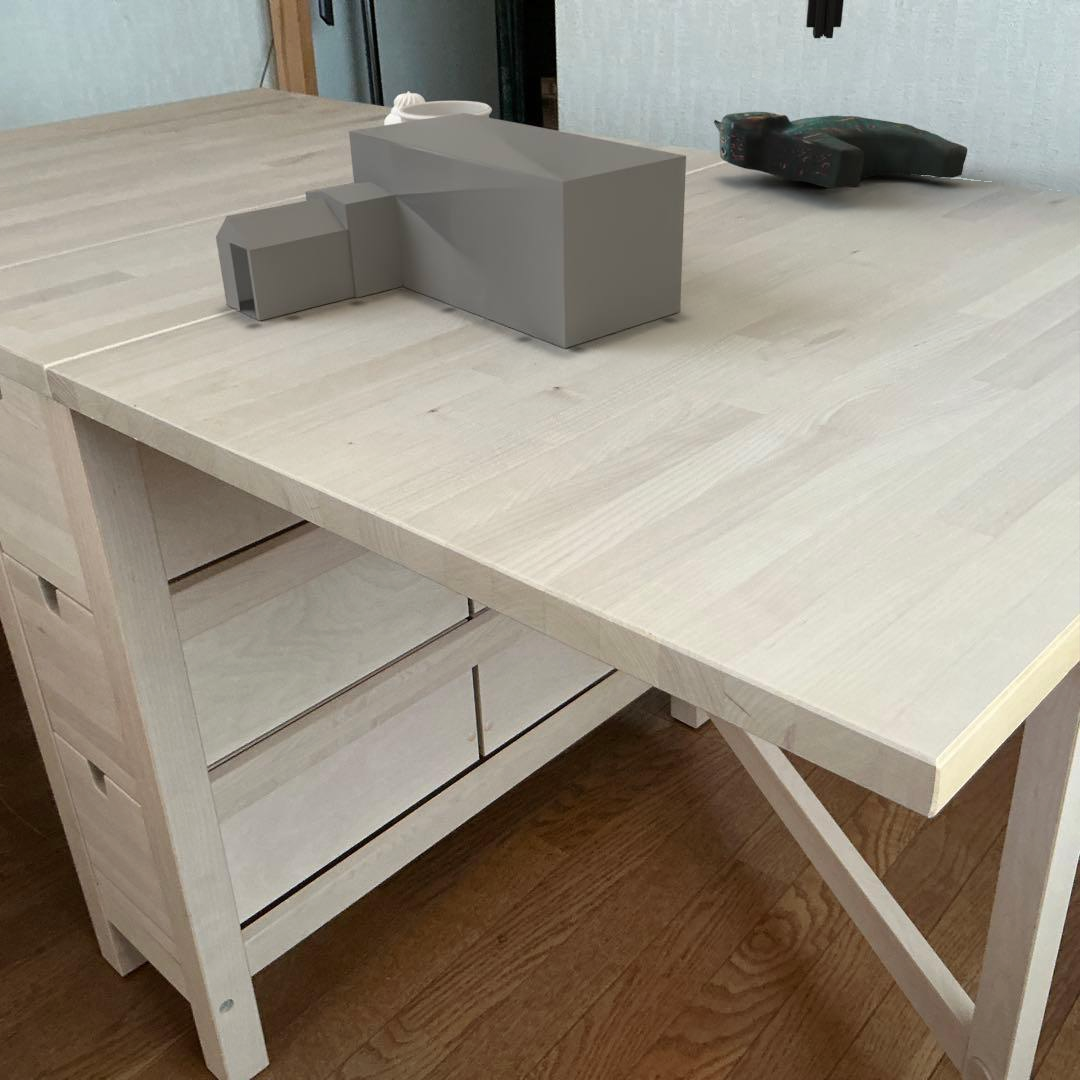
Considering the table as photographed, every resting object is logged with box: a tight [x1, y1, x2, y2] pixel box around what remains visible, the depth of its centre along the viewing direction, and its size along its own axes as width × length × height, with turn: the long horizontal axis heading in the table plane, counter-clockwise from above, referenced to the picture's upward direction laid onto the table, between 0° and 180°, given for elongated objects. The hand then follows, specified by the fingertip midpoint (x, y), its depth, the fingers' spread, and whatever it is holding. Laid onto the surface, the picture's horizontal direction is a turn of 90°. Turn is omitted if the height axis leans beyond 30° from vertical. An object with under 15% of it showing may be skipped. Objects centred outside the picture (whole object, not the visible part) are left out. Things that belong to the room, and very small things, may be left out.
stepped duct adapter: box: [215, 113, 687, 349], centre depth 83 cm, size 25×23×11 cm
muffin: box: [383, 90, 426, 126], centre depth 133 cm, size 6×6×7 cm
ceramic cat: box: [713, 111, 968, 189], centre depth 117 cm, size 20×6×20 cm
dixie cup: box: [398, 100, 493, 123], centre depth 105 cm, size 8×8×10 cm
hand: (822, 36), depth 104 cm, fingers closed
